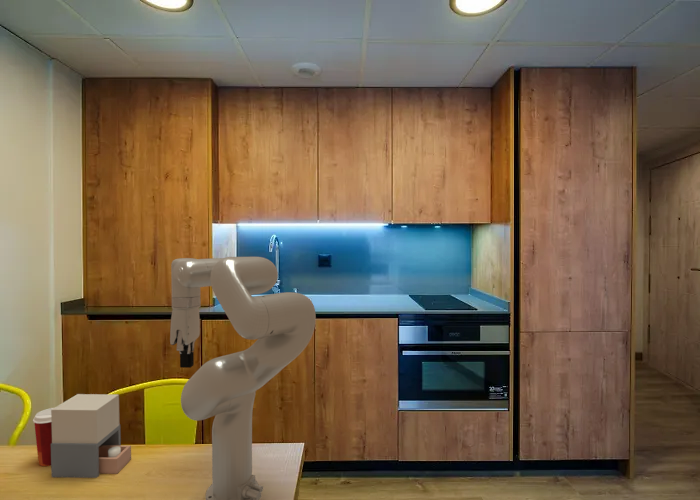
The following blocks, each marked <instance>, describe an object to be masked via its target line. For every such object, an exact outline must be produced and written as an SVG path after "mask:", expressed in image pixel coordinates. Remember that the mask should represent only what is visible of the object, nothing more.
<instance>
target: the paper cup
mask: <svg viewBox="0 0 700 500" xmlns="http://www.w3.org/2000/svg"><path fill="white" fill-rule="evenodd" d="M53 408H54V407H50V408H47V409H43V410H41V411H40V410H39V411H38V412H36V414H35V415H34V418H33V419H32V422H33V423H34V424H33V425H34V430H35V431H34V432H35V443H36V451H37V460H38V465H39V466H40V467H49V466H50V467H51V444H52V420H51V410H52V409H53Z"/></svg>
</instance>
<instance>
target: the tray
mask: <svg viewBox="0 0 700 500" xmlns="http://www.w3.org/2000/svg"><path fill="white" fill-rule="evenodd" d="M98 448H99V474H115V475H116V474H119V472H120V471H121V470H123V468H125V466H126V465H127V464H129V462H130V461H131V460H132V445H125V444H124V445H123V444H122V445H100V446H99V447H98Z"/></svg>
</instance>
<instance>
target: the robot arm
mask: <svg viewBox="0 0 700 500" xmlns="http://www.w3.org/2000/svg"><path fill="white" fill-rule="evenodd" d="M170 266H171V269H170V270H171V271H170V272H171V278H170V279H171V309H172V311H171V317H170V331H169V332H170V333H169V334H170V336H169V342H170V345H171V346H174V345H176V351H178V352H179V367H180V368H185V369H186V368H188V369H189V368H190V369H191V368H192V367H194V364H195V361H194V359H195V357H194V355H195V353H194V351H195V342H196V341H197V339H198V338H199V337H200V335H201V320H200V309H199V308H201V288H203V287H211V288H212V292H213V293H214V295H215V297H216V299H217V301H218V303H219V304H220V306H221V308H222V309H223V311H224V312H225V315H226V316H227V318H228V320H229V321H230V323H231V325H232V327H233V329H234V331H236V333H237V334H238V336H241V338H243V339H245V340H253V341H254V340H256V341H255V342H254V343H252V345H250V346H249V347H248V348H246V349H245V350H241V351H237V352H234V353H229V354H226V355H225V354H224V355H222V356H218V357H214V358H212V359H209V360H208V361H206V362H204V363H203V364H202V365H201V366H200V368H198V369H197V370H196V371H195V372H194V374H192V376H191V377H190V378H189V379H188V380H187V381H186V383H185V384H184V386H183V389H182V392H181V395H180V396H181V397H180V405H181V408H182V409H181V410H182V411H183V413H184V414H185V416H186V417H187V418H189V419H190V420H193V421H197V422H198V421H203V420H206V419H210V418H212V417H214V419H213V422H212V427H211V447H212V448H211V463H212V468H211V469H212V470H211V472H212V473H211V474H212V475H211V476H212V479H211V481H212V484H210V485H209V486H208V488H207V490H206V492H205V500H261V497H262V492H263V490H264V486H263V485H261V484H259V483H258V481H257V480H256V475H254V474H253V411H254V410H253V408H254V403H255V398H256V393H257V391H258V390H259V389H261V388H262V387H264V385H266V384H267V383H268V382H269V381H270V380H272V379H273V378H274V377H275V376H276V375H278V374H279V373H280V372H281V371H282V370H283V369H285V367H287V366H288V365H289V364H290V363H292V362H293V361H294V360H295V359H296V358H298V357H299V356H300V355H301V353H302V352H303V351H304V350H305V349H306V348H307V346H308V345H309V343H310V342H311V339H312V337H313V335H314V332H315V328H316V319H317V317H316V308H315V306H314V303H313V302H312V300H311V299H310V298H309V297H308V296H306V295H305V294H303V293H300V292H289V291H288V292H286V291H285V292H278V293H270V294H263V293H267V292H268V291H269V290H271V289H272V288H274V286H275V285H276V283H277V281H278V278H279V276H278V275H279V274H278V273H279V271H278V269H277V267H276V265H275V264H274V263H273V262H272V261H271V260H270V259H268V258H266V257H263V256H226V257H219V258H218V257H216V258H215V257H214V258H212V257H211V258H199V259H197V258H193V257H191V258H190V257H185V258H183V257H182V258H176V259H174V260H172V262H171V265H170ZM260 294H263V295H260ZM252 295H256V296H252Z"/></svg>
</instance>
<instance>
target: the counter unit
mask: <svg viewBox="0 0 700 500" xmlns="http://www.w3.org/2000/svg"><path fill="white" fill-rule="evenodd" d="M52 408H53V409H52V410H51V420H52V444H51V465H50V467H51V472H50V473H51V478H85V479H86V478H88V479H89V478H90V479H93V478H95V479H98V477H99V476H100V473H99V448H98V447H99V446H100V445H121V442H122V438H121V437H122V436H121V435H122V434H121V424H120V395H119V394H109V393H108V394H106V393H105V394H104V393H103V394H97V393H95V394H94V393H93V394H92V393H90V394H88V393H87V394H85V393H76V395H74V396H72V397H71V398H69V399H67V400H65V401H63V402H62V403H60V404H58V405H57V406H55V407H52Z"/></svg>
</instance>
